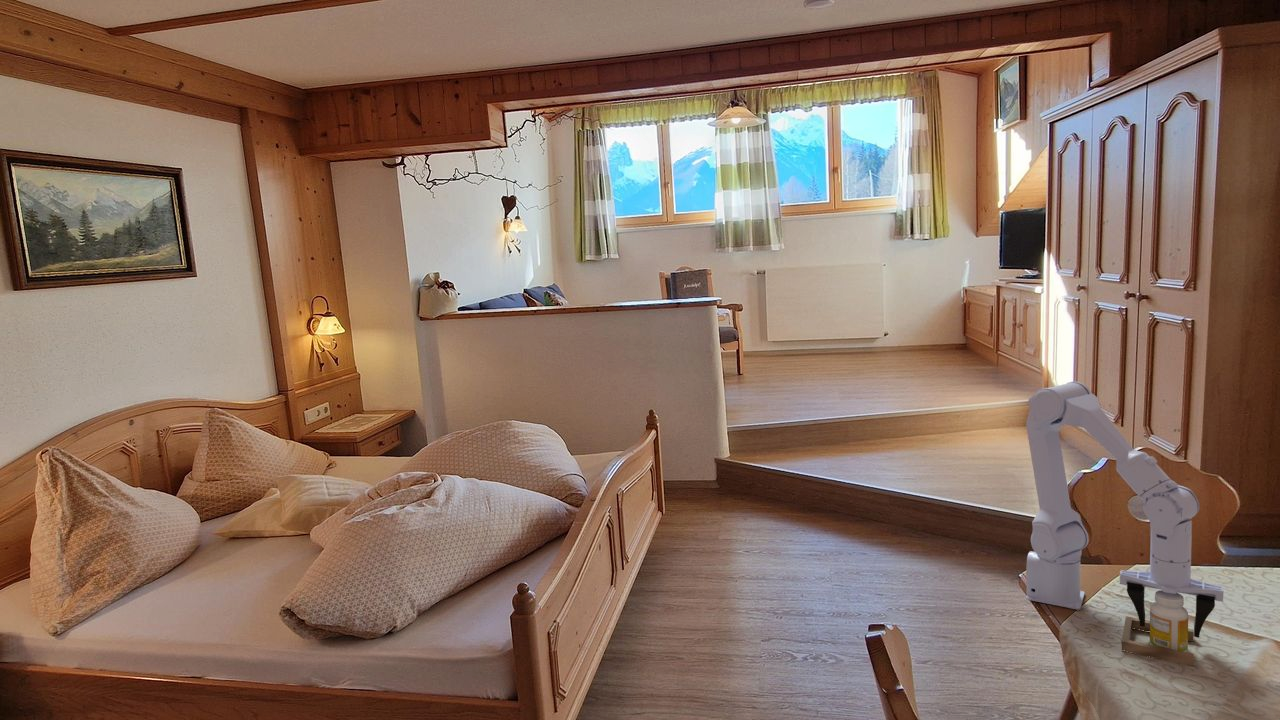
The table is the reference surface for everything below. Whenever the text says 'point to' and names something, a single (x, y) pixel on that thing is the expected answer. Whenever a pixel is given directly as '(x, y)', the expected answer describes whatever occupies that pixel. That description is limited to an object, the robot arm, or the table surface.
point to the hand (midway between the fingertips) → (1169, 629)
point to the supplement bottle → (1169, 621)
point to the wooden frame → (1154, 650)
